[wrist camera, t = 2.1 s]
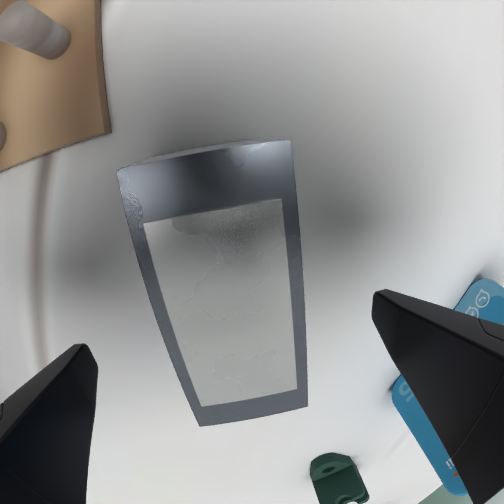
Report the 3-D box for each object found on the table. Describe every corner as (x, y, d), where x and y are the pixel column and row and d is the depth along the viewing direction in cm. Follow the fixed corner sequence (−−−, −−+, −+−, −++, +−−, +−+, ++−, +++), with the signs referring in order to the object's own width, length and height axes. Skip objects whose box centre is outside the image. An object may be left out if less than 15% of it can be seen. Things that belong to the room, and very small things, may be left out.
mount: (361, 473, 27) (374, 504, 23) (328, 488, 28) (339, 519, 23) (341, 445, 23) (359, 485, 19) (298, 463, 23) (311, 505, 19)
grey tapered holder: (197, 341, 16) (199, 429, 11) (154, 156, 12) (114, 171, 7) (277, 326, 17) (308, 408, 11) (254, 138, 13) (292, 139, 7)
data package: (478, 270, 18) (591, 355, 7) (495, 292, 19) (587, 368, 8) (384, 391, 21) (454, 505, 10) (411, 398, 22) (474, 494, 11)
